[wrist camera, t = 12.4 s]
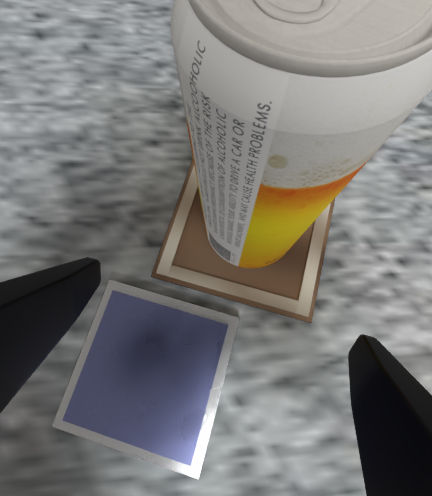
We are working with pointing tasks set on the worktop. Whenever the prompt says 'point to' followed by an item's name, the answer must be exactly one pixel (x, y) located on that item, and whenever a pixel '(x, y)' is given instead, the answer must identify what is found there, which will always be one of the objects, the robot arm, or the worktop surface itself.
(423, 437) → the robot arm
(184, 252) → the marked square
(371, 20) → the beer can
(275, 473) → the worktop surface
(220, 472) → the worktop surface
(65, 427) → the ink pad
